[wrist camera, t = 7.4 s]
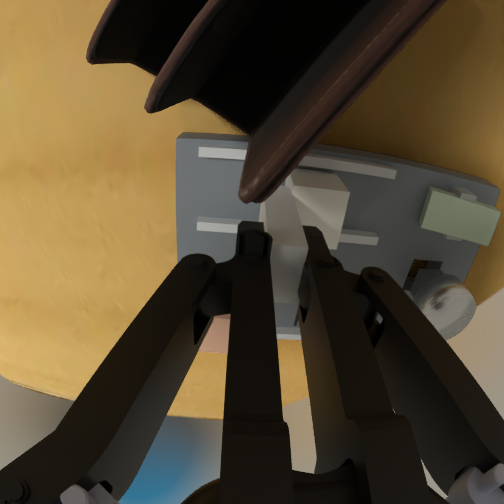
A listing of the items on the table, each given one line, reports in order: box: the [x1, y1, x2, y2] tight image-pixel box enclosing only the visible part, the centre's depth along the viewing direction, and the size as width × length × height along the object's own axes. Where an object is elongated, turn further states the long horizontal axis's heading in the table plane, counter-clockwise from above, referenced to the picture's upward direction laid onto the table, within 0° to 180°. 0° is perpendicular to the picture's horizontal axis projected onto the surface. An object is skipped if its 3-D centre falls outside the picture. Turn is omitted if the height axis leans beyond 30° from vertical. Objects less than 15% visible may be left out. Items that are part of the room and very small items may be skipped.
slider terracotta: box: [198, 314, 230, 354], centre depth 23 cm, size 3×4×3 cm
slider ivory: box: [285, 168, 350, 250], centre depth 18 cm, size 3×4×3 cm
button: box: [410, 268, 476, 340], centre depth 21 cm, size 5×5×5 cm
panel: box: [176, 132, 501, 340], centre depth 22 cm, size 24×15×4 cm, turn 85°
